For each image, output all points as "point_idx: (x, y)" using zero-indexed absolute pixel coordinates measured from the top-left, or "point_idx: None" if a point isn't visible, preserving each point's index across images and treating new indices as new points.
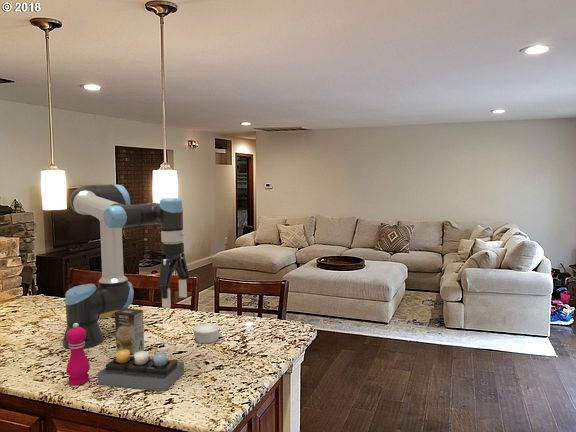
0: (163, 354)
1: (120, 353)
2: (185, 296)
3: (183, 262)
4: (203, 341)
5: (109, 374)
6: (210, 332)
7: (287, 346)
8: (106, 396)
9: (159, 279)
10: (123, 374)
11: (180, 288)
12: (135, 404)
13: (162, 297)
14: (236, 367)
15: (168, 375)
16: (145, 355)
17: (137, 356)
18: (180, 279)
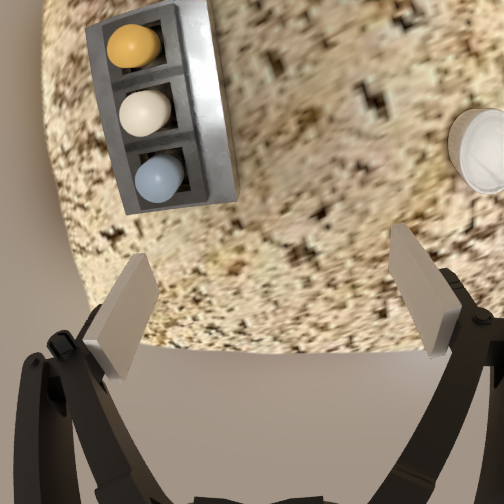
0: (162, 190)
1: (114, 51)
2: (390, 268)
3: (476, 500)
4: (449, 146)
5: (90, 61)
6: (464, 179)
7: None
8: (68, 99)
9: (19, 407)
10: (100, 97)
11: (413, 271)
12: (73, 182)
13: (93, 311)
14: (309, 288)
15: (145, 212)
16: (137, 135)
17: (120, 117)
18: (452, 318)
